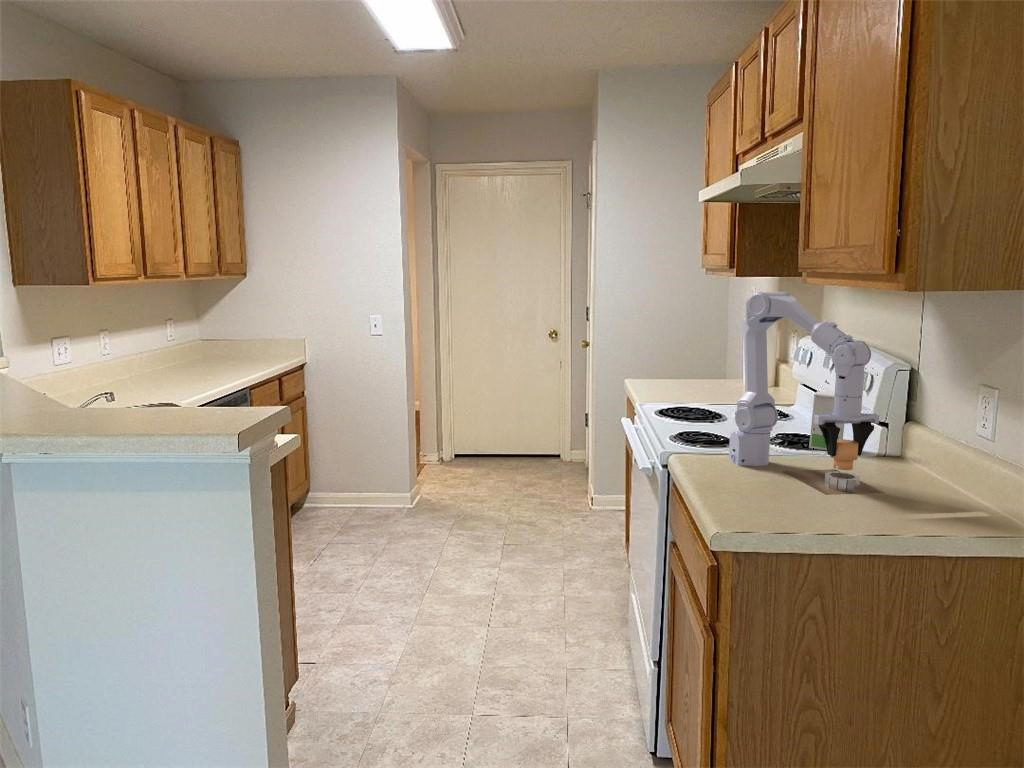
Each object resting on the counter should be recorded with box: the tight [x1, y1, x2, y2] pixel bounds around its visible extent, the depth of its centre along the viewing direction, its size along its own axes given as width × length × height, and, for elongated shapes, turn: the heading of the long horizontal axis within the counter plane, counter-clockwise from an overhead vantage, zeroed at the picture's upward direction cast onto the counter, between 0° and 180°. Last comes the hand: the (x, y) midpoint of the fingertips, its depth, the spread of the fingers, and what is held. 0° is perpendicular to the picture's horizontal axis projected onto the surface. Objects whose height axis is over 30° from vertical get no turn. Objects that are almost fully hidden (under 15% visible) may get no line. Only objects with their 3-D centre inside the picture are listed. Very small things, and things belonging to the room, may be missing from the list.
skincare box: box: [808, 390, 845, 451], centre depth 215 cm, size 8×7×16 cm
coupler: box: [830, 438, 859, 471], centre depth 173 cm, size 6×6×6 cm
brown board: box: [782, 468, 886, 495], centre depth 179 cm, size 14×20×1 cm
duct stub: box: [824, 471, 861, 491], centre depth 174 cm, size 7×7×2 cm
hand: (844, 455), depth 173 cm, fingers closed on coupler, 6 cm apart
